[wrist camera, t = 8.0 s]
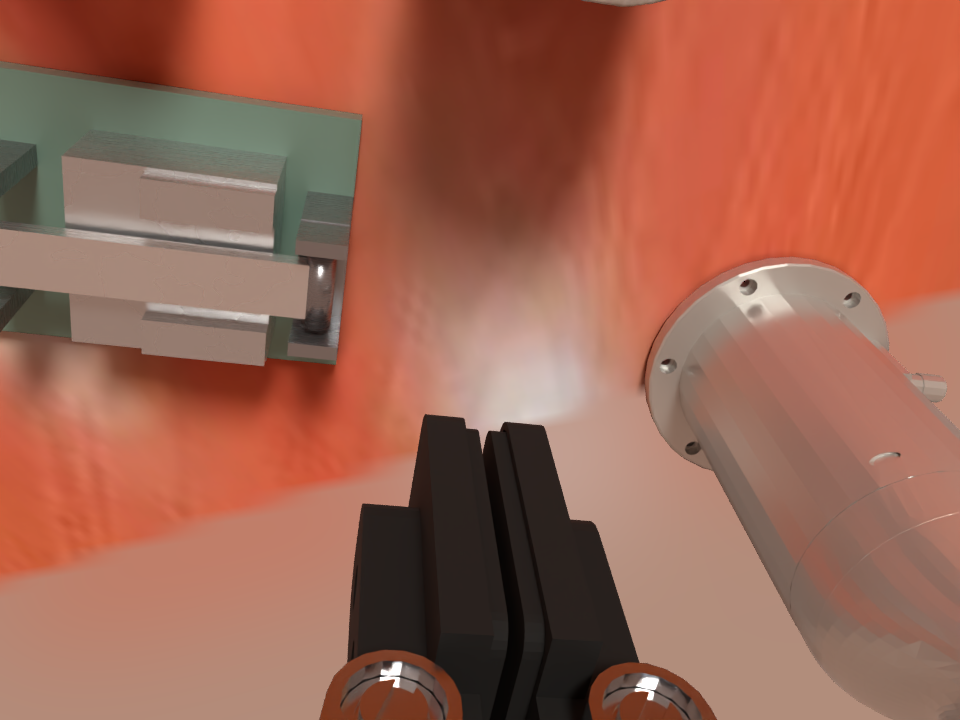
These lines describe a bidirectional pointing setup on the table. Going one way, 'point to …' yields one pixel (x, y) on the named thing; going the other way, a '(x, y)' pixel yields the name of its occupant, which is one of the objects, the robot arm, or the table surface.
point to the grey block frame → (185, 238)
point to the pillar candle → (624, 2)
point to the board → (170, 116)
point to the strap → (167, 272)
